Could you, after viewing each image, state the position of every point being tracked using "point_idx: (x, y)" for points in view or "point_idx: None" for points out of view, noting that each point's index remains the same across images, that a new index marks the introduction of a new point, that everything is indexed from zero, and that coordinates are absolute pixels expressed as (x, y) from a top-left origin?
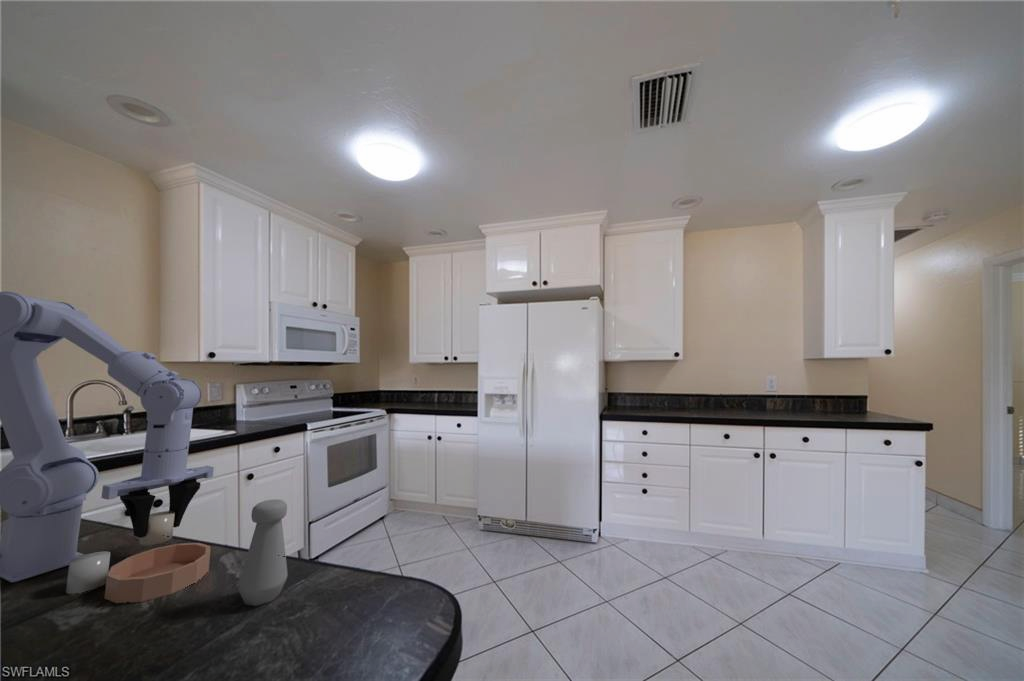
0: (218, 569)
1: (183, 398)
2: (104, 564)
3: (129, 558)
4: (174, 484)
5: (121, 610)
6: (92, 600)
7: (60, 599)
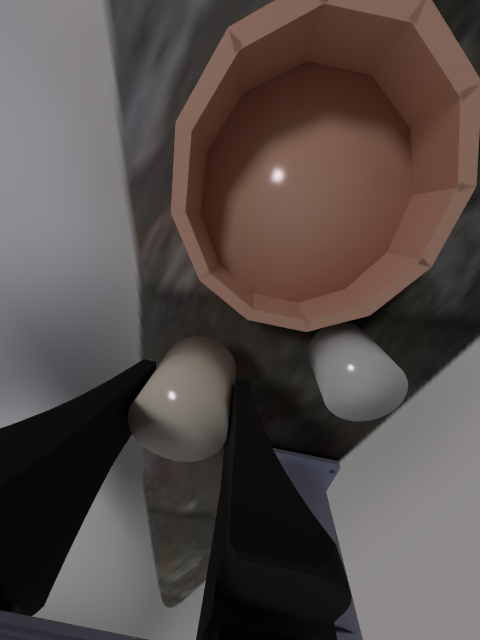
0: None
1: None
2: (353, 349)
3: (317, 319)
4: (14, 603)
5: None
6: None
7: (390, 343)
